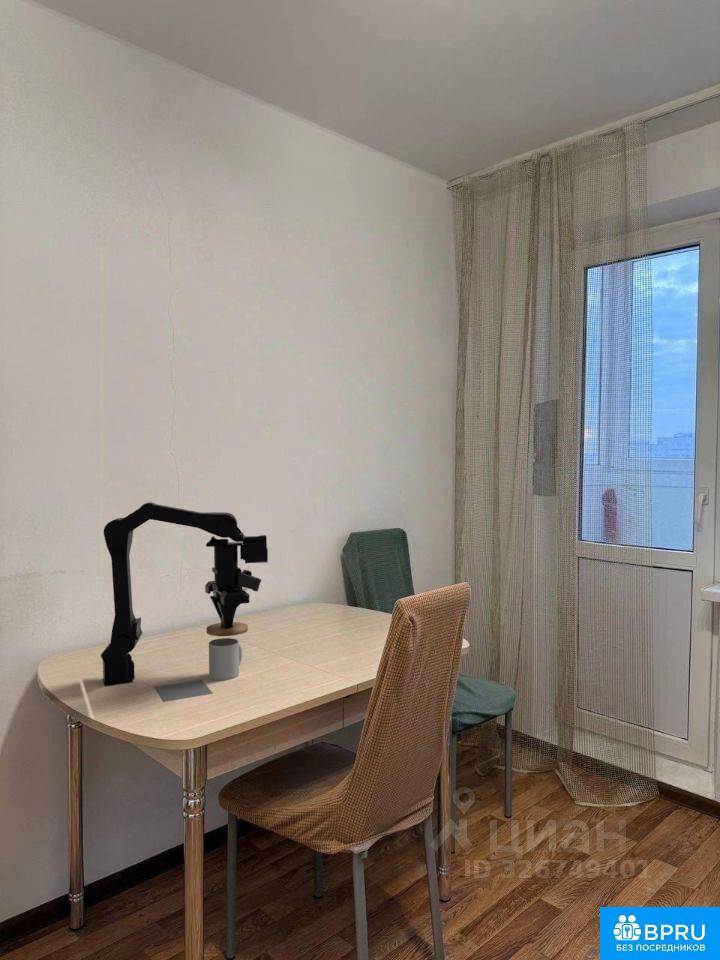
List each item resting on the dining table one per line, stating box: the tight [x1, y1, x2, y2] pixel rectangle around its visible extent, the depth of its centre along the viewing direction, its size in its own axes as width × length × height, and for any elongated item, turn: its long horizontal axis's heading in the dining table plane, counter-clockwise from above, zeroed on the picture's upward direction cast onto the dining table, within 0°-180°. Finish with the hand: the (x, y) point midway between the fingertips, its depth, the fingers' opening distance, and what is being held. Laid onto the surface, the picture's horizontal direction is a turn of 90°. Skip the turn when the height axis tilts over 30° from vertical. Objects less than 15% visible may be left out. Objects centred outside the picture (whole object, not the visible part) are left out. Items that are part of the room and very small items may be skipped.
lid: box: [206, 617, 249, 637], centre depth 166 cm, size 10×10×4 cm
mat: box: [154, 678, 214, 703], centre depth 155 cm, size 11×11×1 cm
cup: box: [208, 637, 243, 681], centre depth 167 cm, size 7×10×9 cm
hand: (227, 626), depth 166 cm, fingers closed on lid, 3 cm apart
